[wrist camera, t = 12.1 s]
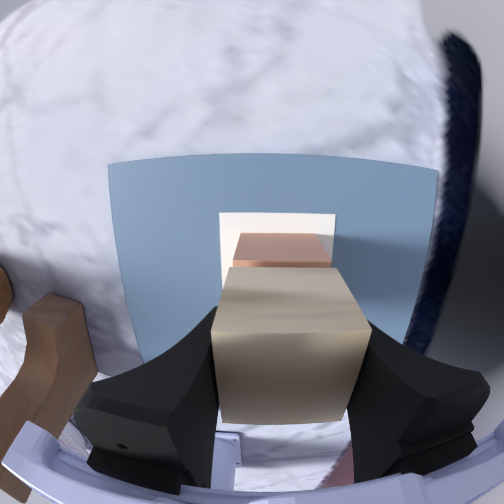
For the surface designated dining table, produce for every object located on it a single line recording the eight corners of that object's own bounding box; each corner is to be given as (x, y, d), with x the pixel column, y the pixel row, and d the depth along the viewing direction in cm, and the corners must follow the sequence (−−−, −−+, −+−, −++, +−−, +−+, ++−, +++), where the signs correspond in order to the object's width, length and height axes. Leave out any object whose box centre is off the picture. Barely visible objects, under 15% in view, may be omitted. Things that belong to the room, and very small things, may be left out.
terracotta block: (309, 298, 18) (321, 339, 14) (242, 298, 18) (235, 339, 14) (314, 233, 16) (331, 260, 12) (240, 232, 16) (232, 260, 12)
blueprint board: (375, 399, 22) (377, 404, 22) (159, 398, 23) (157, 403, 23) (433, 169, 15) (438, 170, 14) (112, 163, 16) (107, 164, 15)
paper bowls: (13, 384, 28) (-8, 412, 20) (60, 397, 26) (36, 435, 19) (60, 438, 33) (46, 465, 25) (114, 454, 31) (100, 489, 23)
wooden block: (48, 290, 20) (-74, 411, 3) (83, 301, 20) (-43, 453, 3) (67, 360, 23) (-11, 476, 6) (99, 373, 23) (26, 506, 6)
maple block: (323, 350, 13) (341, 420, 8) (233, 350, 13) (222, 422, 9) (336, 267, 11) (372, 329, 7) (229, 266, 11) (210, 330, 7)
